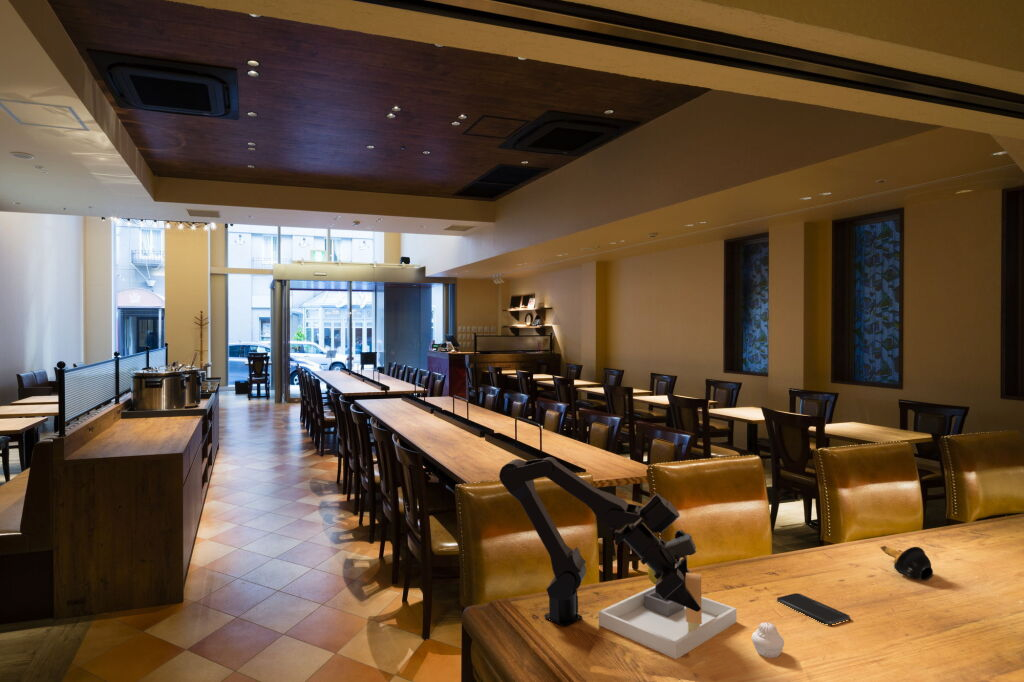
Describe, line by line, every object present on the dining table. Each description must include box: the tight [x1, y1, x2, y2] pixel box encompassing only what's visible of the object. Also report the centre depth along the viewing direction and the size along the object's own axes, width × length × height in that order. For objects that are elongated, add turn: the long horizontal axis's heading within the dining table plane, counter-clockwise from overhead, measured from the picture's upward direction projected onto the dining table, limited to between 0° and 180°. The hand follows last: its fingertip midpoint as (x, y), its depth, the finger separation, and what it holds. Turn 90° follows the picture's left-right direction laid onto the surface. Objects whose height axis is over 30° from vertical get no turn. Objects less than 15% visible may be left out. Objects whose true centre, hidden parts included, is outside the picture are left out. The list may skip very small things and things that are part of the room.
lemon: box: [647, 565, 658, 585], centre depth 158 cm, size 6×6×8 cm
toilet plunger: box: [879, 545, 934, 581], centre depth 167 cm, size 9×11×18 cm
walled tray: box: [598, 584, 738, 660], centre depth 135 cm, size 24×20×4 cm
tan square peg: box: [686, 572, 702, 633], centre depth 131 cm, size 3×3×12 cm
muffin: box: [751, 621, 785, 659], centre depth 122 cm, size 6×6×7 cm
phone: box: [776, 593, 851, 625], centre depth 144 cm, size 8×1×15 cm
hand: (699, 601), depth 131 cm, fingers open, 9 cm apart
